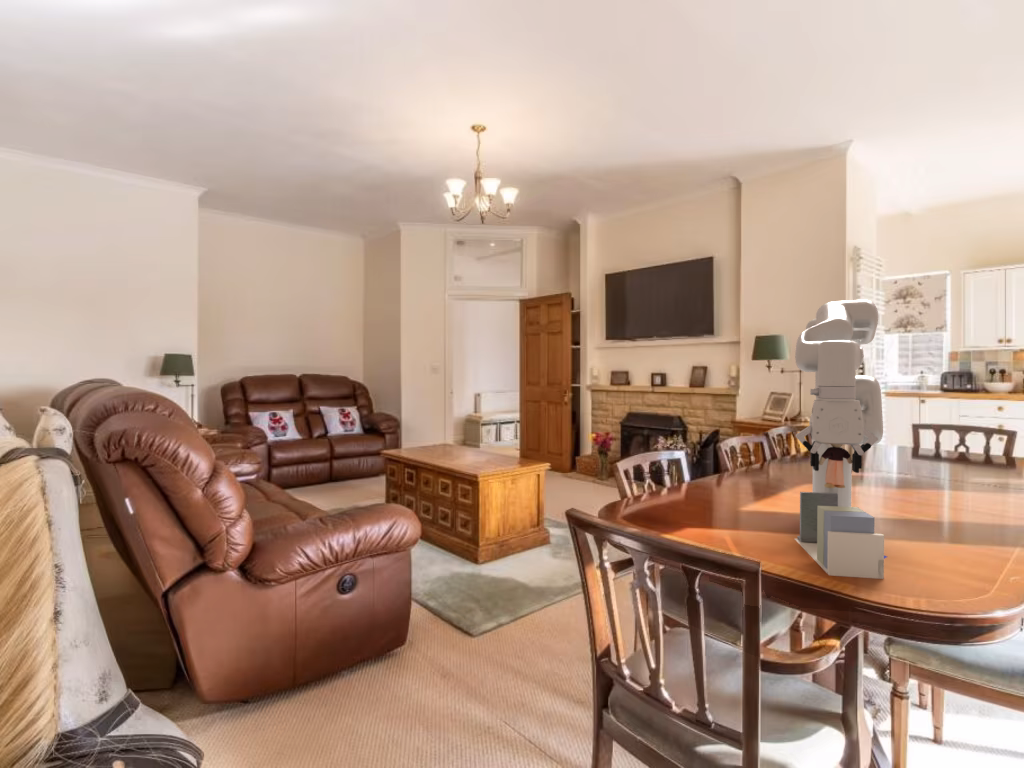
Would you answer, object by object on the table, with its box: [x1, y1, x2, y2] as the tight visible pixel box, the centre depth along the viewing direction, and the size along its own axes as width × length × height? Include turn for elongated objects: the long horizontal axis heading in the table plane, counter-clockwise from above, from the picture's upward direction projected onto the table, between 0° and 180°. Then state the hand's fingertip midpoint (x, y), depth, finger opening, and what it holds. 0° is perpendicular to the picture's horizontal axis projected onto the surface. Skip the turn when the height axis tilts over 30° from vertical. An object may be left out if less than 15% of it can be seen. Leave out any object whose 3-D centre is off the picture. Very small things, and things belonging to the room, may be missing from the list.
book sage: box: [817, 506, 866, 566], centre depth 117 cm, size 4×8×12 cm, turn 78°
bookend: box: [796, 491, 838, 543], centre depth 132 cm, size 3×8×12 cm, turn 78°
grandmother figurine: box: [819, 444, 852, 488], centre depth 125 cm, size 8×4×13 cm, turn 102°
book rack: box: [794, 531, 885, 580], centre depth 122 cm, size 24×10×10 cm, turn 168°
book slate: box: [824, 511, 875, 569], centre depth 113 cm, size 4×8×12 cm, turn 78°
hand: (835, 470), depth 125 cm, fingers closed on grandmother figurine, 7 cm apart
